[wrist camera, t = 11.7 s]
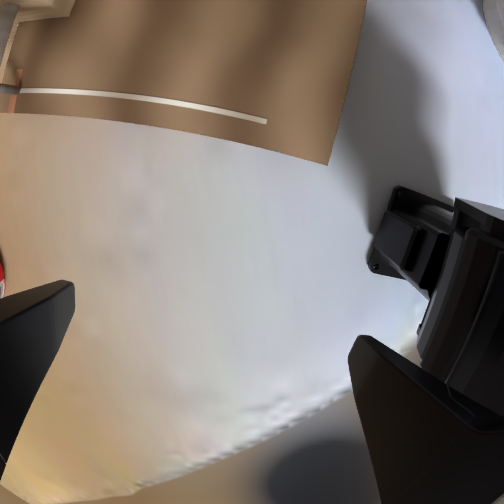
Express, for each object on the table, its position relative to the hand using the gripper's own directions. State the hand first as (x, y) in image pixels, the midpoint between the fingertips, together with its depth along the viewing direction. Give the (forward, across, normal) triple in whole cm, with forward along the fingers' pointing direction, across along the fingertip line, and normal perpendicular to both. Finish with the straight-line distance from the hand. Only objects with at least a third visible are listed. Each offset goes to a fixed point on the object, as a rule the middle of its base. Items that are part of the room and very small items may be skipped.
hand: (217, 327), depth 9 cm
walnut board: (+12, +6, -11) cm, 17 cm away
